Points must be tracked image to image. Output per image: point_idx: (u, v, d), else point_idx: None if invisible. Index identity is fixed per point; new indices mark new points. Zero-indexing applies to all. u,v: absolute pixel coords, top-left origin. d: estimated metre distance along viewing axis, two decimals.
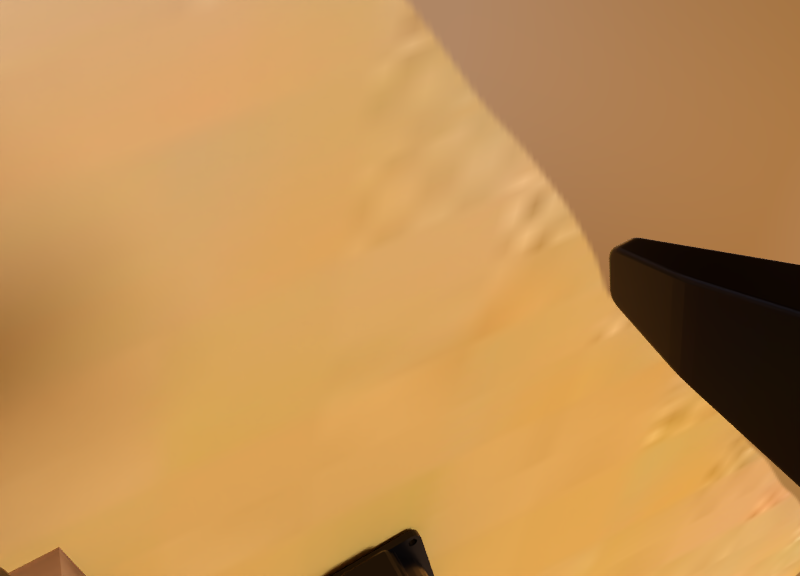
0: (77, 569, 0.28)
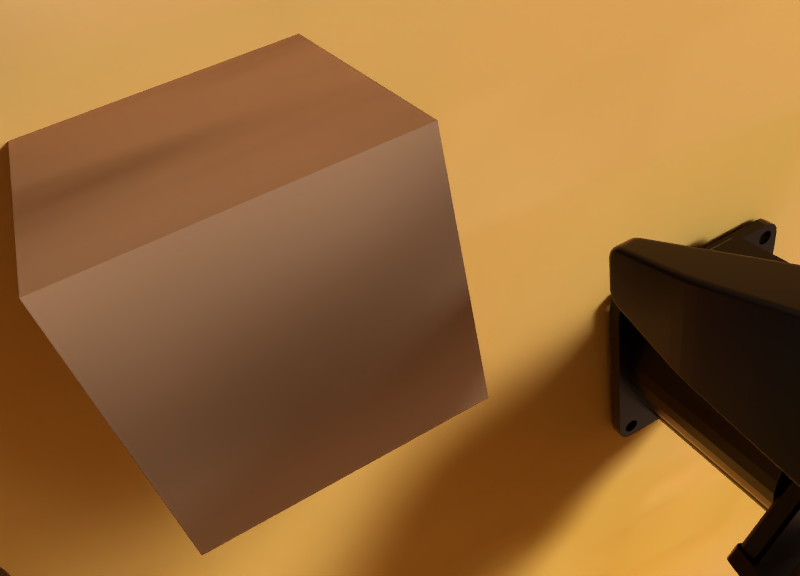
0: None
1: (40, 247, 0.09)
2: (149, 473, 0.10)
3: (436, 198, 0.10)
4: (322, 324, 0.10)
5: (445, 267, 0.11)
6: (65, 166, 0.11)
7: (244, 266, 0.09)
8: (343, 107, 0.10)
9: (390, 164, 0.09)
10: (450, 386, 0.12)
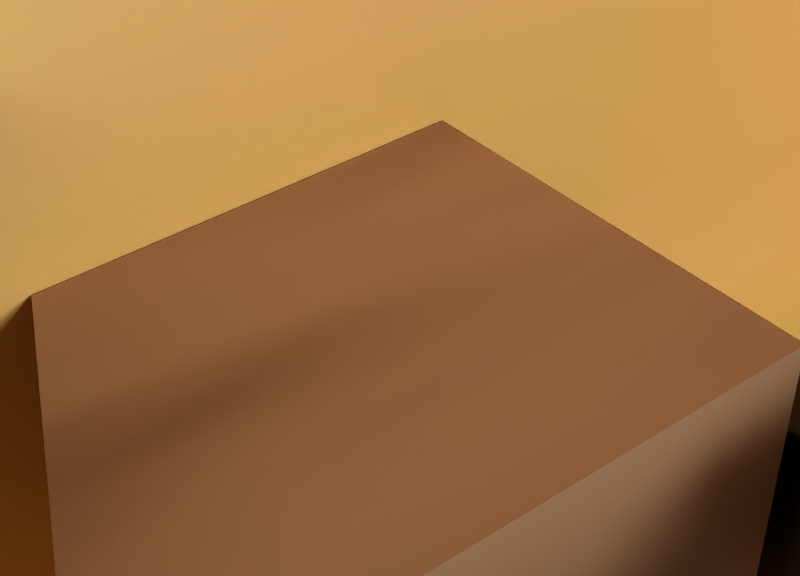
0: None
1: None
2: None
3: (764, 452, 0.06)
4: None
5: (743, 537, 0.06)
6: (127, 371, 0.07)
7: None
8: (592, 288, 0.06)
9: (722, 422, 0.05)
10: None
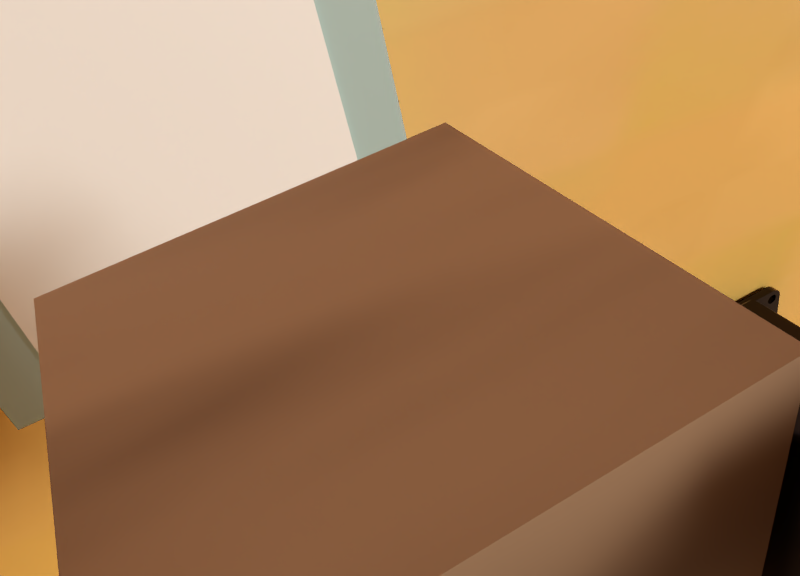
0: None
1: None
2: None
3: (770, 457, 0.06)
4: None
5: (748, 541, 0.06)
6: (130, 375, 0.07)
7: None
8: (596, 291, 0.06)
9: (726, 428, 0.05)
10: None
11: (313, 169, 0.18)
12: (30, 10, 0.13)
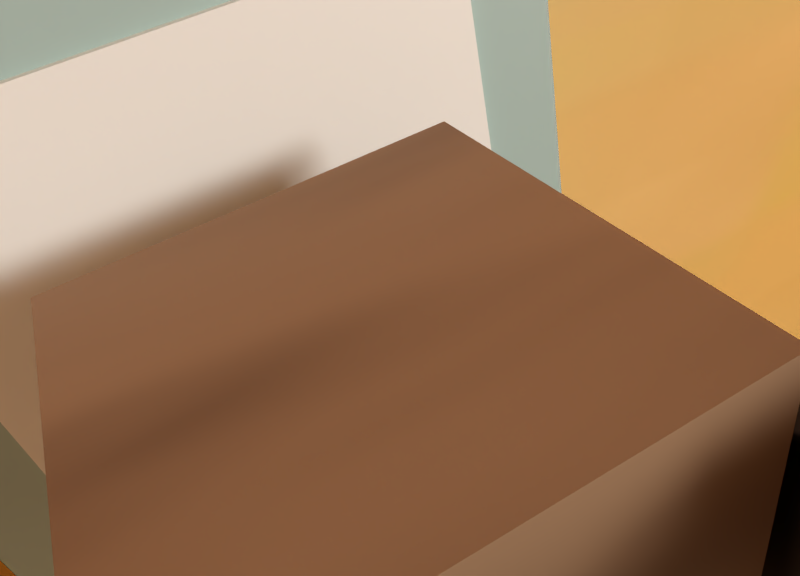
0: None
1: None
2: None
3: (769, 456, 0.06)
4: None
5: (748, 541, 0.06)
6: (127, 374, 0.06)
7: None
8: (596, 290, 0.06)
9: (725, 426, 0.05)
10: None
11: None
12: (135, 162, 0.10)
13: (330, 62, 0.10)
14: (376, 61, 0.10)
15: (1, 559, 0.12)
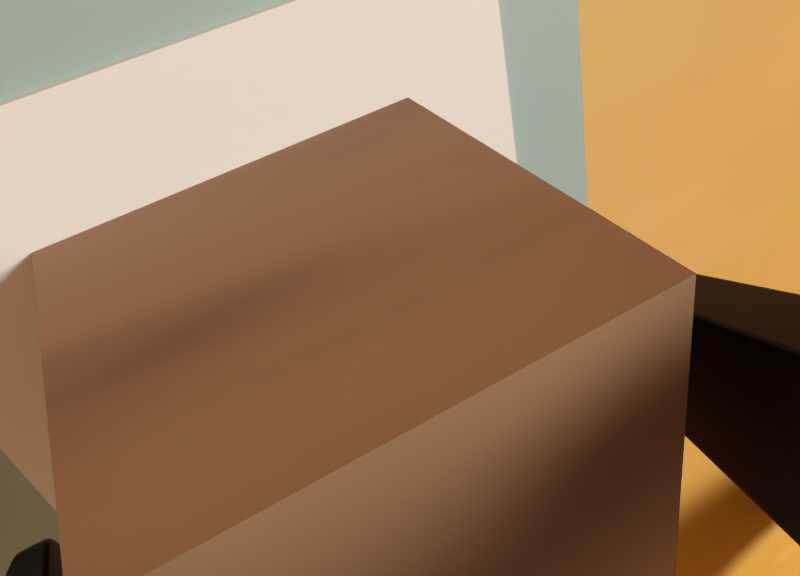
0: None
1: (93, 488, 0.06)
2: None
3: (670, 375, 0.07)
4: (495, 556, 0.07)
5: (661, 457, 0.07)
6: (116, 312, 0.07)
7: (407, 506, 0.06)
8: (523, 235, 0.07)
9: (624, 342, 0.06)
10: None
11: None
12: (148, 183, 0.09)
13: (353, 77, 0.10)
14: (400, 75, 0.10)
15: None
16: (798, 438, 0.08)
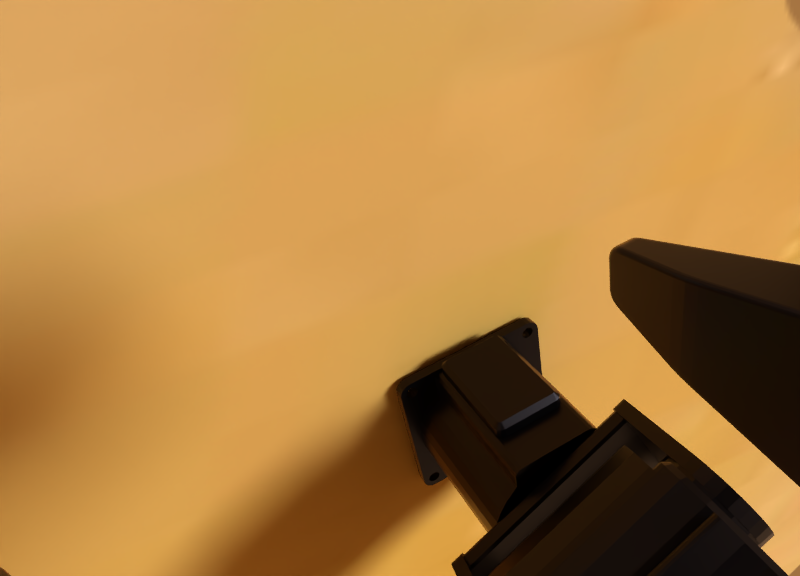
0: None
1: None
2: None
3: None
4: None
5: None
6: None
7: None
8: None
9: None
10: None
11: None
12: None
13: None
14: None
15: None
16: None
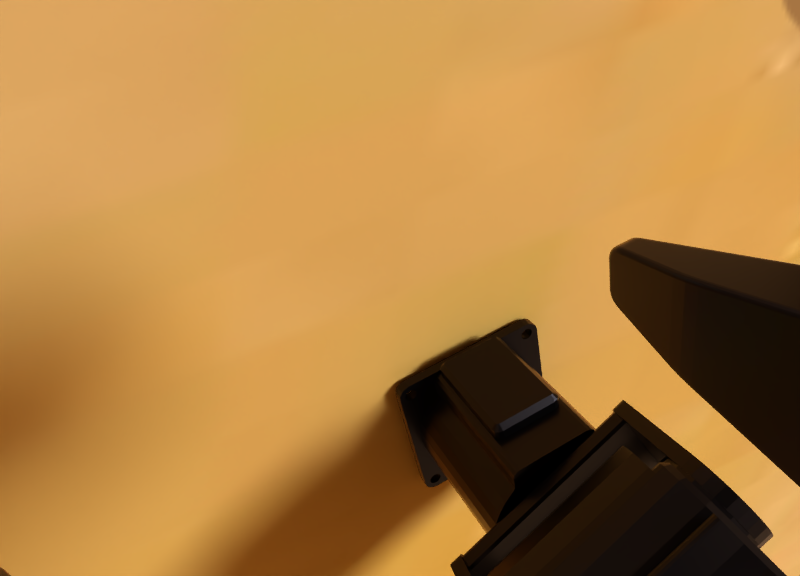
0: None
1: None
2: None
3: None
4: None
5: None
6: None
7: None
8: None
9: None
10: None
11: None
12: None
13: None
14: None
15: None
16: None
